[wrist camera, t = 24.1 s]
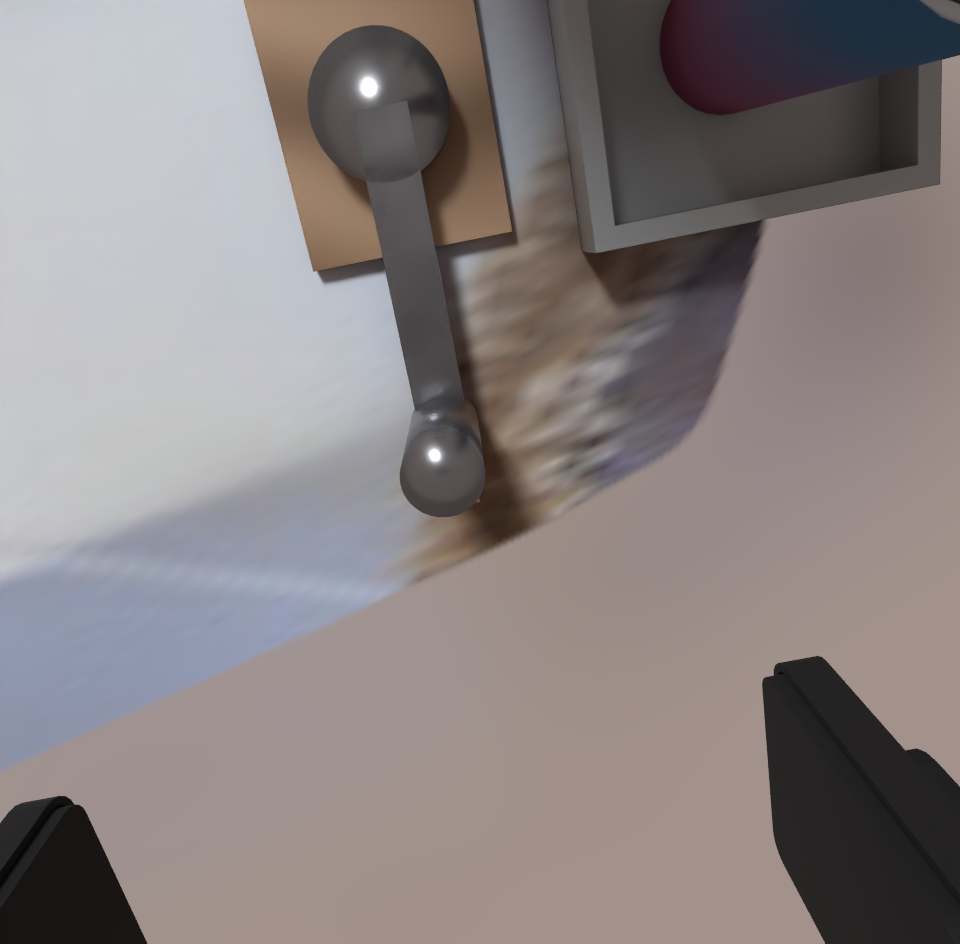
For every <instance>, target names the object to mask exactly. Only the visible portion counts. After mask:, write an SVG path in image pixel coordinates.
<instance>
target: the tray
mask: <svg viewBox="0 0 960 944" xmlns="http://www.w3.org/2000/svg"><path fill="white" fill-rule="evenodd" d="M670 2H671V0H547V4H548V11H549V18H550V26H551V33H552V40H553V47H554V54H555V62H556V69H557V76H558V83H559V90H560V98H561V105H562V112H563V119H564V126H565V134H566V141H567V148H568V155H569V162H570V169H571V177H572V184H573V191H574V198H575V205H576V213H577V220H578V227H579V234H580V241H581V249H582V252H590V253H600V252H605V251H610V250H614V249H619V248H624V247H629V246H634V245H639V244H644V243H649V242H654V241H659V240H664V239H669V238H674V237H679V236H684V235H689V234H694V233H699V232H704V231H709V230H714V229H719V228H724V227H729V226H734V225H739V224H744V223H749V222H754V221H759V220H764V219H769V218H774V217H779V216H784V215H789V214H794V213H799V212H804V211H809V210H813V209H819V208H824V207H829V206H834V205H839V204H843V203H848V202H854V201H859V200H864V199H869V198H873V197H879V196H884V195H889V194H893V193H898V192H903V191H908V190H913V189H918V188H923V187H928V186H933V185H938V184H940V149H941V148H940V146H941V83H942V78H941V77H942V60H938V61H934V62H931V63H927V64H923V65H919V66H915V67H911V68H907V69H904V70H900V71H896V72H892V73H888V74H884V75H880V76H877V77H873V78H869V79H865V80H861V81H857V82H853V83H850V84H846V85H842V86H838V87H834V88H830V89H826V90H823V91H819V92H815V93H811V94H807V95H803V96H799V97H796V98H792V99H788V100H784V101H780V102H776V103H773V104H769V105H765V106H761V107H757V108H753V109H749V110H746V111H742V112H738V113H734V114H726V115H715V114H707V113H704V112H702V111H699V110H696V109H694V108H693V107H691V106H690V105H688V104H686V103H685V102H684V101H683V100H682V99H681V98H680V97H679V96H678V95H677V94H676V93H675V92H674V90H673V89H672V87H671V85H670V84H669V82H668V81H667V78H666V75H665V73H664V70H663V68H662V62H661V57H660V33H661V27H662V22H663V19H664V16H665V13H666V10H667V7H668V5H669V4H670Z"/></svg>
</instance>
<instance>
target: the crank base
mask: <svg viewBox="0 0 960 944" xmlns="http://www.w3.org/2000/svg"><path fill="white" fill-rule="evenodd" d="M244 4H245V7H246V11H247V15H248V19H249V23H250V27H251V31H252V35H253V39H254V42H255V46H256V50H257V54H258V58H259V62H260V66H261V70H262V74H263V77H264V81H265V85H266V89H267V93H268V97H269V101H270V105H271V109H272V112H273V116H274V120H275V124H276V128H277V132H278V136H279V140H280V143H281V147H282V151H283V155H284V159H285V163H286V167H287V171H288V175H289V178H290V182H291V186H292V190H293V194H294V198H295V202H296V206H297V210H298V213H299V217H300V221H301V225H302V229H303V233H304V237H305V241H306V245H307V248H308V252H309V256H310V260H311V264H312V268H313V272H314V271H319V270H324V269H329V268H334V267H339V266H344V265H349V264H354V263H358V262H363V261H368V260H373V259H378V258H383V257H382V253H381V248H380V243H379V239H378V234H377V229H376V225H375V220H374V215H373V211H372V206H371V201H370V197H369V192H368V187H367V183H366V182H364V181H362V180H359V179H357V178H355V177H353V176H352V175H350V174H348V173H347V172H345V171H344V170H342V169H341V168H340V167H338V166H337V165H336V164H335V163H334V162H333V161H332V160H331V159H330V158H329V157H328V156H327V155H326V153H325V152H324V151H323V149H322V148H321V146H320V144H319V143H318V141H317V139H316V137H315V134H314V132H313V130H312V126H311V123H310V119H309V113H308V102H307V97H308V87H309V81H310V77H311V74H312V71H313V68H314V66H315V64H316V62H317V60H318V58H319V57H320V55H321V54H322V52H323V51H324V50H325V49H326V48H327V46H328V45H329V44H330V43H331V42H332V41H334V40H335V39H336V38H337V37H339V36H340V35H342V34H343V33H345V32H347V31H350V30H352V29H354V28H358V27H362V26H368V25H383V26H389V27H393V28H396V29H399V30H402V31H404V32H406V33H408V34H410V35H411V36H413V37H414V38H416V39H417V40H418V41H420V42H421V43H422V44H423V45H424V46H425V47H426V48H427V49H428V50H429V51H430V53H431V54H432V55H433V56H434V58H435V59H436V61H437V62H438V64H439V66H440V68H441V70H442V72H443V74H444V77H445V80H446V83H447V87H448V91H449V98H450V124H449V130H448V134H447V138H446V141H445V143H444V146H443V148H442V150H441V152H440V153H439V155H438V157H437V158H436V159H435V161H434V162H433V163H432V164H431V165H430V166H429V167H428V168H427V169H426V170H425V171H424V172H422V178H423V183H424V188H425V194H426V199H427V204H428V209H429V215H430V220H431V225H432V230H433V236H434V241H435V246H436V247H438V246H443V245H448V244H452V243H457V242H462V241H467V240H472V239H477V238H482V237H487V236H492V235H497V234H502V233H507V232H512V228H511V222H510V216H509V210H508V204H507V198H506V192H505V186H504V180H503V174H502V168H501V162H500V156H499V150H498V144H497V138H496V132H495V126H494V120H493V114H492V109H491V103H490V97H489V91H488V85H487V79H486V73H485V67H484V61H483V55H482V49H481V43H480V37H479V31H478V25H477V19H476V13H475V7H474V1H473V0H244ZM477 502H480V500H479V499H478V500H477Z"/></svg>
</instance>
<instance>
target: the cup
mask: <svg viewBox="0 0 960 944" xmlns="http://www.w3.org/2000/svg"><path fill="white" fill-rule="evenodd" d="M957 55H960V0H671V2H670V4H669V5H668V7H667V10H666V13H665V16H664V19H663V22H662V27H661V33H660V57H661V62H662V68H663V70H664V73H665V75H666V78H667V81H668V82H669V84H670V85H671V87H672V89H673V90H674V92H675V93H676V94H677V95H678V96H679V97H680V98H681V99H682V100H683V101H684V102H685V103H686V104H688V105H690V106H691V107H693V108H694V109H696V110H699V111H702V112H704V113H707V114H715V115H726V114H734V113H738V112H742V111H746V110H749V109H753V108H757V107H761V106H765V105H769V104H773V103H776V102H780V101H784V100H788V99H792V98H796V97H799V96H803V95H807V94H811V93H815V92H819V91H823V90H826V89H830V88H834V87H838V86H842V85H846V84H850V83H853V82H857V81H861V80H865V79H869V78H873V77H877V76H880V75H884V74H888V73H892V72H896V71H900V70H904V69H907V68H911V67H915V66H919V65H923V64H927V63H931V62H934V61H938V60H942V59H946V58H950V57H954V56H957Z"/></svg>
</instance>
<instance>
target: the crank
mask: <svg viewBox="0 0 960 944" xmlns="http://www.w3.org/2000/svg"><path fill="white" fill-rule="evenodd" d="M307 102H308V113H309V119H310V123H311V126H312V130H313V132H314V134H315V137H316V139H317V141H318V143H319V144H320V146H321V148H322V149H323V151H324V152H325V153H326V155H327V156H328V157H329V158H330V159H331V160H332V161H333V162H334V163H335V164H336V165H337V166H338V167H340V168H341V169H342V170H344V171H345V172H347V173H348V174H350V175H352V176H353V177H355V178H357V179H359V180H362V181H364V182H366V183H367V187H368V192H369V197H370V201H371V206H372V211H373V215H374V220H375V225H376V229H377V234H378V239H379V243H380V248H381V253H382V257H383V262H384V267H385V271H386V276H387V281H388V285H389V290H390V295H391V299H392V304H393V309H394V313H395V318H396V323H397V327H398V332H399V337H400V341H401V346H402V351H403V355H404V360H405V365H406V369H407V374H408V379H409V383H410V388H411V393H412V397H413V402H414V407H415V410H414V412H413V416H412V420H411V425H410V429H409V433H408V438H407V442H406V447H405V451H404V456H403V460H402V465H401V469H400V483H401V487H402V490H403V493H404V495H405V496H406V498H407V500H408V501H409V502H410V503H411V504H412V505H413V506H414V507H415V508H417V509H418V510H419V511H421V512H423V513H425V514H428V515H431V516H436V517H450V516H455V515H458V514H461V513H463V512H465V511H466V510H468V509H469V508H471V507H472V506H473V505H474V504H475V503H476V502H477V500H478V499H479V497H480V496H481V494H482V492H483V489H484V486H485V480H486V474H485V466H484V459H483V452H482V444H481V437H480V430H479V423H478V416H477V413H476V410H475V408H474V406H473V405H472V403H471V402H470V401H469V400H468V399H467V398H466V397H464V393H463V388H462V383H461V377H460V372H459V367H458V362H457V356H456V351H455V346H454V341H453V335H452V330H451V325H450V320H449V314H448V309H447V304H446V299H445V293H444V288H443V283H442V278H441V272H440V267H439V262H438V257H437V251H436V246H435V241H434V236H433V230H432V225H431V220H430V215H429V209H428V204H427V199H426V194H425V188H424V183H423V178H422V172H424V171H425V170H426V169H427V168H428V167H429V166H430V165H431V164H432V163H433V162H434V161H435V159H436V158H437V157H438V155H439V153H440V152H441V150H442V148H443V146H444V143H445V141H446V138H447V134H448V130H449V124H450V98H449V91H448V87H447V83H446V80H445V77H444V74H443V72H442V70H441V68H440V66H439V64H438V62H437V61H436V59H435V58H434V56H433V55H432V54H431V53H430V51H429V50H428V49H427V48H426V47H425V46H424V45H423V44H422V43H421V42H420V41H418V40H417V39H416V38H414V37H413V36H411V35H410V34H408V33H406V32H404V31H402V30H399V29H396V28H393V27H389V26H383V25H368V26H362V27H358V28H354V29H352V30H350V31H347V32H345V33H343V34H342V35H340V36H339V37H337V38H336V39H335V40H334V41H332V42H331V43H330V44H329V45H328V46H327V48H326V49H325V50H324V51H323V52H322V54H321V55H320V57H319V58H318V60H317V62H316V64H315V66H314V68H313V71H312V74H311V77H310V81H309V87H308V97H307Z"/></svg>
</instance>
